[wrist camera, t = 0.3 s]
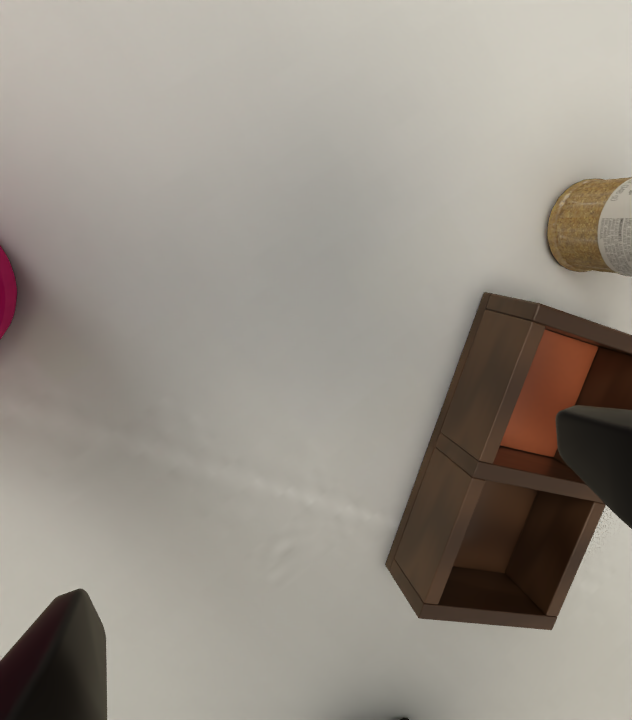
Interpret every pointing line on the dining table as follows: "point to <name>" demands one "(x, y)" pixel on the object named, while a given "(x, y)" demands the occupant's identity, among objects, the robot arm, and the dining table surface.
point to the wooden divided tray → (508, 469)
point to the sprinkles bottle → (593, 226)
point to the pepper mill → (6, 293)
